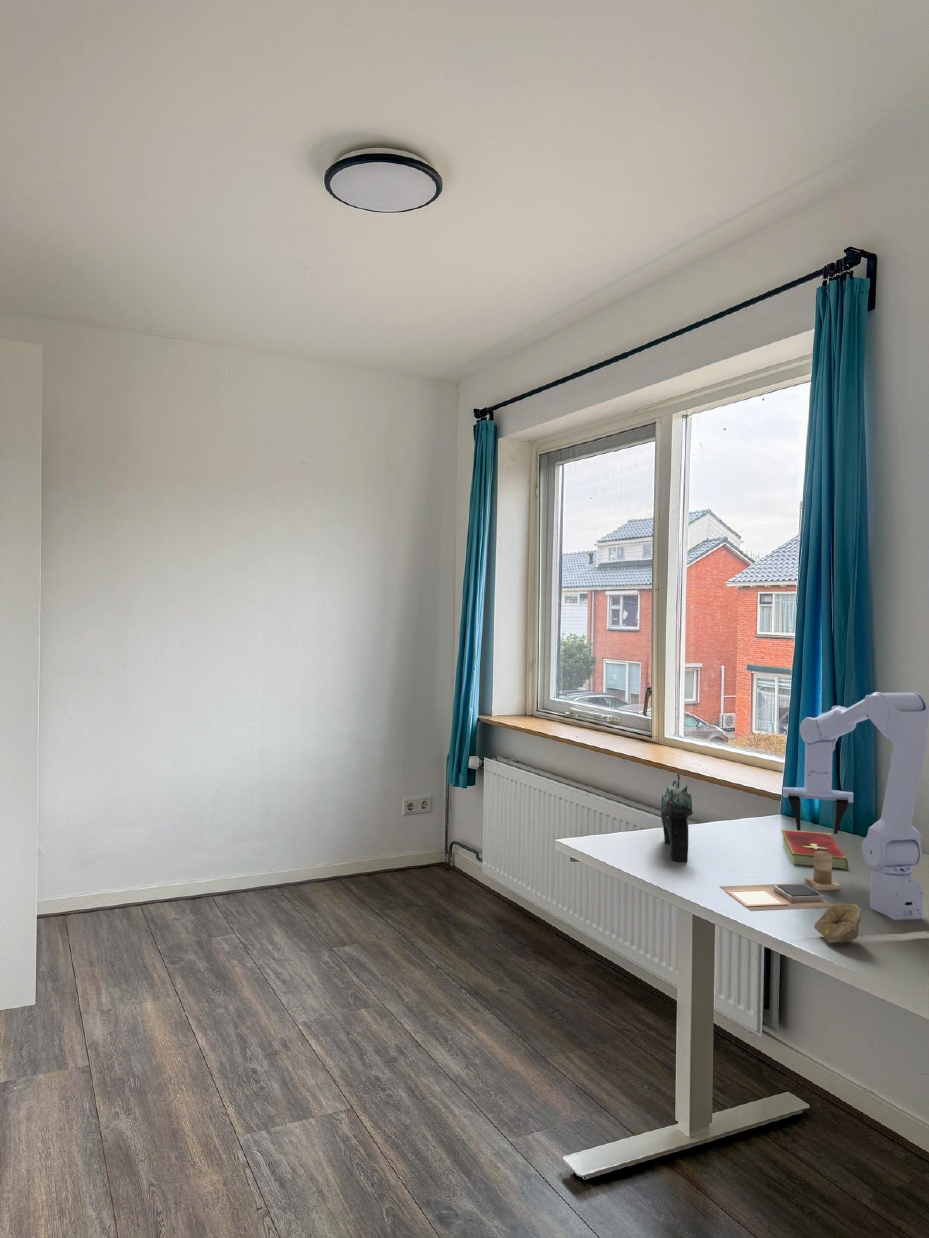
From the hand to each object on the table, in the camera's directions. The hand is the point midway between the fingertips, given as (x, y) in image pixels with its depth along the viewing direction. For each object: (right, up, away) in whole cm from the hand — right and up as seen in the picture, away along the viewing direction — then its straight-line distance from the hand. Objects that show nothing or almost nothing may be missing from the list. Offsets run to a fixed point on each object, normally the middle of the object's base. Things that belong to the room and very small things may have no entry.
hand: (816, 831), depth 193 cm
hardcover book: (+5, -10, +14) cm, 18 cm away
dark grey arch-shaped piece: (-28, -9, +17) cm, 34 cm away
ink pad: (-10, -9, -16) cm, 21 cm away
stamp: (-3, -10, -10) cm, 15 cm away
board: (-15, -10, -17) cm, 25 cm away
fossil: (-11, -11, -36) cm, 39 cm away
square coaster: (-20, -9, -18) cm, 28 cm away
